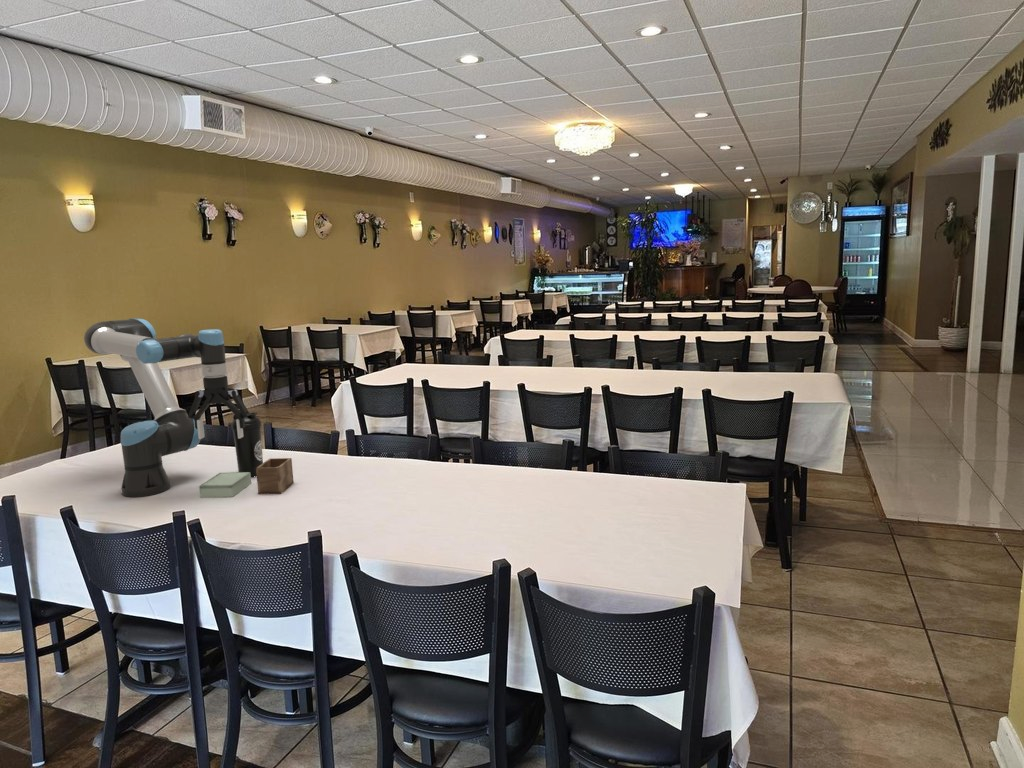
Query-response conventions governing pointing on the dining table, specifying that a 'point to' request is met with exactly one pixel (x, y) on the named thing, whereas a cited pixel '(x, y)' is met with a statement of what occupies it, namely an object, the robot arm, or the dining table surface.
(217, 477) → the lid
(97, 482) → the dining table surface
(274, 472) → the box
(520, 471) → the dining table surface
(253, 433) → the water bottle
